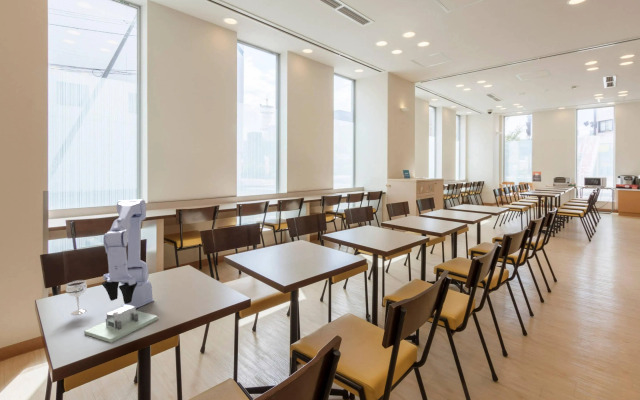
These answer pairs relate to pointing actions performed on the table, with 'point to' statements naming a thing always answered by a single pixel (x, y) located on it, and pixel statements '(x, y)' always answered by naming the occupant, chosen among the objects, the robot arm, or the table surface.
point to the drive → (121, 316)
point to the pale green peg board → (120, 327)
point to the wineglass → (76, 292)
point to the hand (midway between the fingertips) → (120, 301)
